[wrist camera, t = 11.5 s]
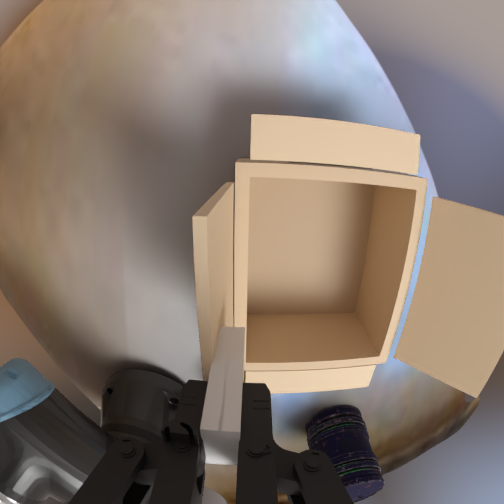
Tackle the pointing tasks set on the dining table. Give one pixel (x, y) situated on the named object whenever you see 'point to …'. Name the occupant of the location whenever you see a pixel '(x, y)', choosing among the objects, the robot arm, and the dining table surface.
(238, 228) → the carton
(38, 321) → the dining table surface
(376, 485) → the dark blue barrel
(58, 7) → the dining table surface
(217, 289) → the flap
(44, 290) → the dining table surface
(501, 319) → the flap
